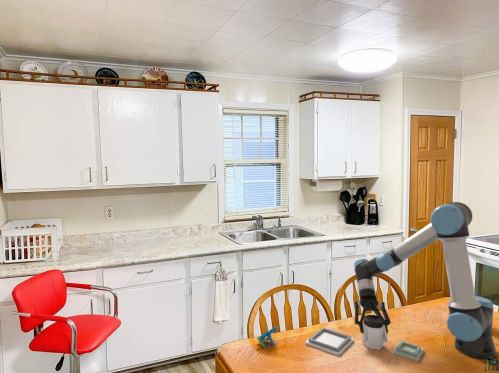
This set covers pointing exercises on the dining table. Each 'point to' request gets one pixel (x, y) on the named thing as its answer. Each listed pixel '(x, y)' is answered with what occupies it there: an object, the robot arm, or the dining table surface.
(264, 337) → the blue green toy
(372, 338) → the jar
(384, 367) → the dining table surface
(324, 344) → the grey picture frame
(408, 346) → the small collar
